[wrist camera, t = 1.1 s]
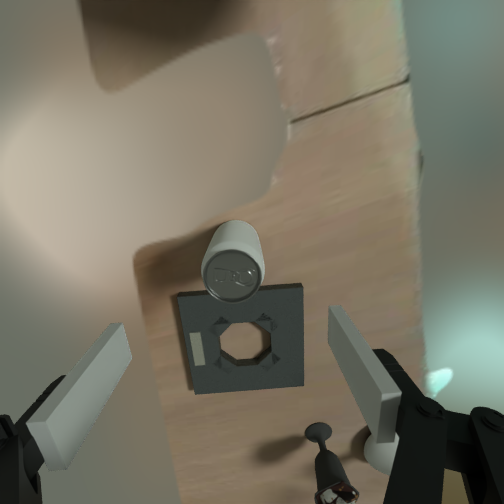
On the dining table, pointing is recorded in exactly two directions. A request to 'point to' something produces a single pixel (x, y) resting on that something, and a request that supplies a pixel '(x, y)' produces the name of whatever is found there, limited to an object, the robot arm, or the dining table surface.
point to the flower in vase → (380, 454)
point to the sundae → (329, 471)
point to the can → (233, 263)
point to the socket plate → (252, 310)
